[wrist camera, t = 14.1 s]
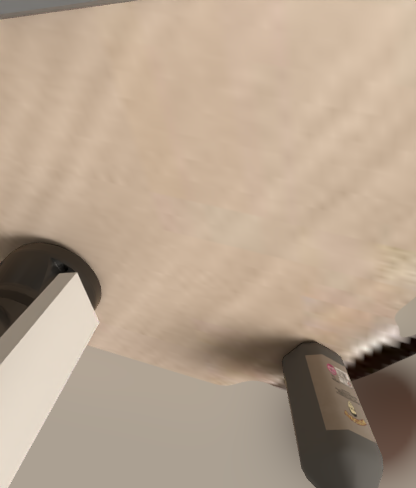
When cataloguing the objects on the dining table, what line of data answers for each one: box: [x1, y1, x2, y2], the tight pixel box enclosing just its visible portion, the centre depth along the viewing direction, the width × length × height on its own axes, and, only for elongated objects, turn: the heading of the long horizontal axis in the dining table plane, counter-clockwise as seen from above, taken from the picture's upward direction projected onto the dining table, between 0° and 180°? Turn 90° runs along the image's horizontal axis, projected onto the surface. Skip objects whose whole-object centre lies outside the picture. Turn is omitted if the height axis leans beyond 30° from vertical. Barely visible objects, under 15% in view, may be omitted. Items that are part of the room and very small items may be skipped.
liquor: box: [282, 342, 383, 488], centre depth 37 cm, size 9×9×30 cm
